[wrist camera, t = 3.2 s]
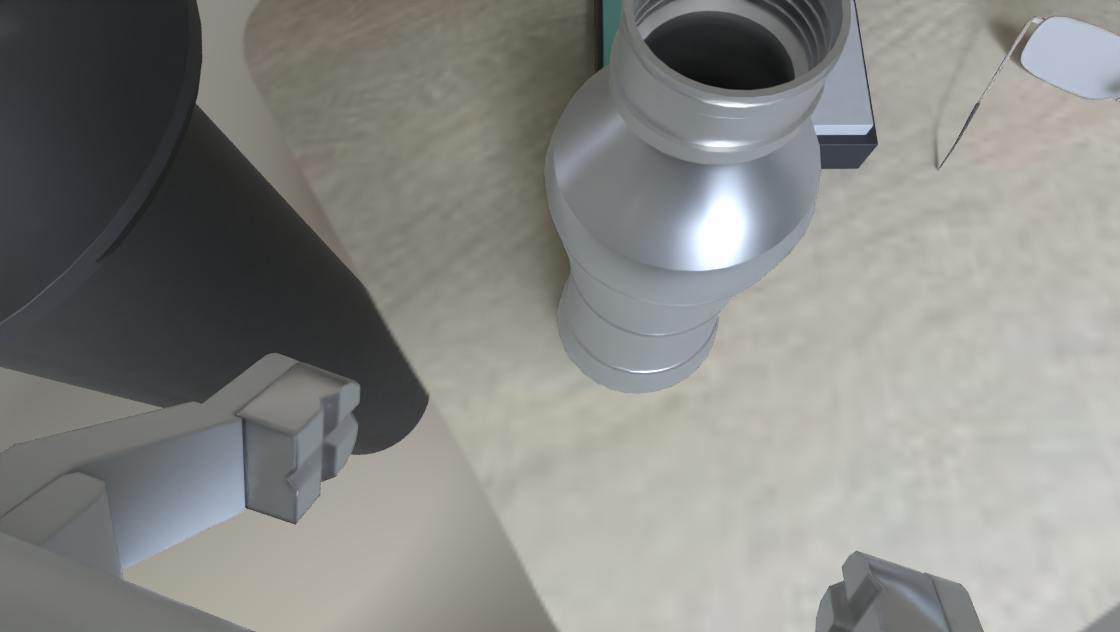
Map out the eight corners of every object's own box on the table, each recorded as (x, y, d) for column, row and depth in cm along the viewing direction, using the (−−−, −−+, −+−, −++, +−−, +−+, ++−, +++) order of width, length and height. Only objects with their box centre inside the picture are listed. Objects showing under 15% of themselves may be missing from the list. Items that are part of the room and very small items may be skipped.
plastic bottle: (711, 400, 28) (995, 173, 9) (560, 406, 29) (535, 192, 9) (697, 265, 30) (909, -152, 11) (555, 271, 30) (526, -135, 11)
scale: (596, 169, 32) (598, 136, 29) (593, -37, 36) (595, -85, 33) (858, 168, 32) (886, 134, 29) (827, -40, 36) (850, -88, 33)
